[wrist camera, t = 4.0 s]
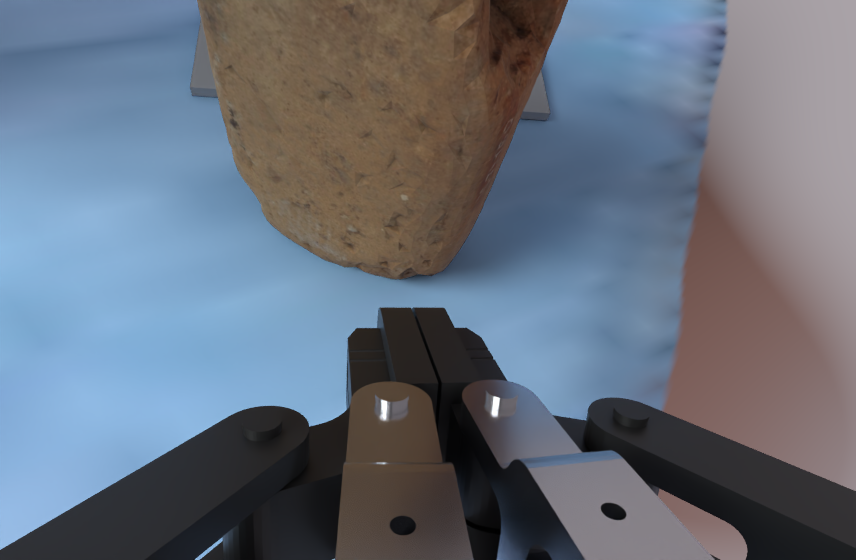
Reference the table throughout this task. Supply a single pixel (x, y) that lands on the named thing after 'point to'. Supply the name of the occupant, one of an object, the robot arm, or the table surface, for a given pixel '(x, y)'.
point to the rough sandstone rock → (375, 116)
